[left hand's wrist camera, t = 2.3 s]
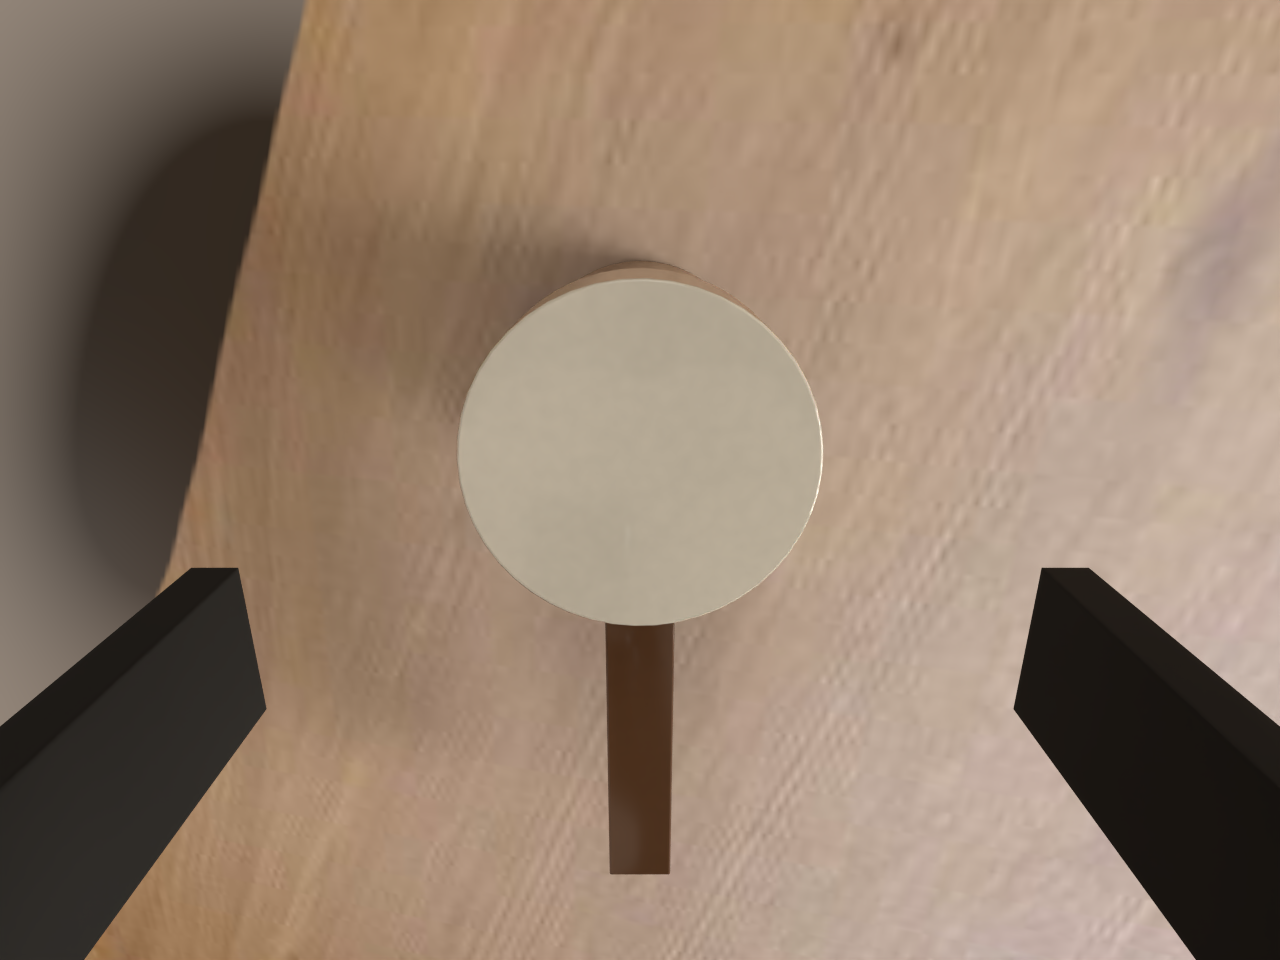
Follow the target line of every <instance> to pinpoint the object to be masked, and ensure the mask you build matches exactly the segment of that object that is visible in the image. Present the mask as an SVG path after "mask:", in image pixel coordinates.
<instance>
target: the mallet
mask: <svg viewBox="0 0 1280 960" xmlns="http://www.w3.org/2000/svg"><path fill="white" fill-rule="evenodd" d="M631 268H651V269H660V270H669V271H673V272H677V273H682V274H686V275H690V276H693V277H695V278H698V277H696V276H694V275H693V274H691V273H689V272H687V271H685V270H683V269H680V268H677V267H674V266H671V265H668V264H663V263H658V262H651V261H629V262H622V263H617V264H612V265H609V266H606V267H603V268H600V269H597V270H595V271H593V272H591V273H589V274H587V275H585V276H584V277H582V278H585V277H588V276H591V275H594V274H598V273H601V272H607V271H613V270H619V269H631ZM582 278H581V279H582ZM698 279H699V278H698ZM700 280H701V279H700ZM605 628H606V685H607V741H608V797H609V854H610V874H670V847H671V790H672V734H673V678H674V623H668V624H661V625H646V626H630V625H619V624H610V623H605Z"/></svg>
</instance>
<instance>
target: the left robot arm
mask: <svg viewBox="0 0 1280 960" xmlns="http://www.w3.org/2000/svg"><path fill="white" fill-rule="evenodd" d="M265 710H266V704H265V699H264V694H263V689H262V684H261V679H260V674H259V669H258V664H257V659H256V654H255V649H254V644H253V639H252V634H251V629H250V624H249V619H248V614H247V609H246V604H245V599H244V594H243V589H242V584H241V579H240V574H239V569H238V568H191V569H189V570H188V571H187V572H186V573H185V574H183V575H182V576H181V577H180V578H179V579H177V580H176V581H175V582H174V583H172V584H171V585H170V586H169V587H168V588H166V589H165V590H164V591H163V592H162V593H160V594H159V595H158V596H157V597H156V598H154V599H153V600H152V601H151V602H150V603H148V604H147V605H146V606H145V607H144V608H142V609H141V610H140V611H139V612H138V613H136V614H135V615H134V616H133V617H132V618H130V619H129V620H128V621H127V622H126V623H124V624H123V625H122V626H121V627H119V628H118V629H117V630H116V631H115V632H113V633H112V634H111V635H110V636H109V637H107V638H106V639H105V640H104V641H103V642H101V643H100V644H99V645H98V646H97V647H95V648H94V649H93V650H92V651H91V652H89V653H88V654H87V655H86V656H85V657H83V658H82V659H81V660H80V661H79V662H77V663H76V664H75V665H74V666H73V667H71V668H70V669H69V670H68V671H67V672H65V673H64V674H63V675H62V676H60V677H59V678H58V679H57V680H56V681H54V682H53V683H52V684H51V685H50V686H48V687H47V688H46V689H45V690H44V691H42V692H41V693H40V694H39V695H38V696H36V697H35V698H34V699H33V700H32V701H30V702H29V703H28V704H27V705H26V706H24V707H23V708H22V709H21V710H20V711H18V712H17V713H16V714H15V715H14V716H12V717H11V718H10V719H9V720H8V721H6V722H5V723H4V724H3V725H1V726H0V960H84V959H85V958H86V956H87V955H88V954H89V952H90V951H91V949H92V948H93V947H94V945H95V944H96V943H97V941H98V940H99V938H100V937H101V936H102V934H103V933H104V932H105V930H106V929H107V927H108V926H109V925H110V923H111V922H112V921H113V919H114V918H115V916H116V915H117V914H118V912H119V911H120V910H121V908H122V907H123V905H124V904H125V903H126V901H127V900H128V899H129V897H130V896H131V894H132V893H133V892H134V890H135V889H136V888H137V886H138V885H139V883H140V882H141V881H142V879H143V878H144V877H145V875H146V874H147V872H148V871H149V870H150V868H151V867H152V866H153V864H154V863H155V861H156V860H157V859H158V857H159V856H160V855H161V853H162V852H163V850H164V849H165V848H166V846H167V845H168V844H169V842H170V841H171V839H172V838H173V837H174V835H175V834H176V833H177V831H178V830H179V828H180V827H181V826H182V824H183V823H184V822H185V820H186V819H187V817H188V816H189V815H190V813H191V812H192V811H193V809H194V808H195V806H196V805H197V804H198V802H199V801H200V800H201V798H202V797H203V795H204V794H205V793H206V791H207V790H208V789H209V787H210V786H211V784H212V783H213V782H214V780H215V779H216V778H217V776H218V775H219V773H220V772H221V771H222V769H223V768H224V767H225V765H226V764H227V762H228V761H229V760H230V758H231V757H232V756H233V754H234V753H235V751H236V750H237V749H238V747H239V746H240V745H241V743H242V742H243V740H244V739H245V738H246V736H247V735H248V734H249V732H250V731H251V730H252V728H253V727H254V725H255V724H256V723H257V721H258V720H259V719H260V717H261V716H262V714H263V713H264V712H265ZM1014 710H1015V712H1016V713H1017V714H1018V716H1019V717H1020V719H1021V720H1022V721H1023V723H1024V724H1025V725H1026V727H1027V728H1028V730H1029V731H1030V732H1031V734H1032V735H1033V736H1034V738H1035V739H1036V741H1037V742H1038V743H1039V745H1040V746H1041V747H1042V749H1043V750H1044V751H1045V753H1046V754H1047V756H1048V757H1049V758H1050V760H1051V761H1052V762H1053V764H1054V765H1055V767H1056V768H1057V769H1058V771H1059V772H1060V773H1061V775H1062V776H1063V778H1064V779H1065V780H1066V782H1067V783H1068V784H1069V786H1070V787H1071V789H1072V790H1073V791H1074V793H1075V794H1076V795H1077V797H1078V798H1079V800H1080V801H1081V802H1082V804H1083V805H1084V806H1085V808H1086V809H1087V811H1088V812H1089V813H1090V815H1091V816H1092V817H1093V819H1094V820H1095V822H1096V823H1097V824H1098V826H1099V827H1100V828H1101V830H1102V831H1103V833H1104V834H1105V835H1106V837H1107V838H1108V839H1109V841H1110V842H1111V844H1112V845H1113V846H1114V848H1115V849H1116V850H1117V852H1118V853H1119V855H1120V856H1121V857H1122V859H1123V860H1124V861H1125V863H1126V864H1127V866H1128V867H1129V868H1130V870H1131V871H1132V872H1133V874H1134V875H1135V877H1136V878H1137V879H1138V881H1139V882H1140V883H1141V885H1142V886H1143V888H1144V889H1145V890H1146V892H1147V893H1148V894H1149V896H1150V897H1151V899H1152V900H1153V901H1154V903H1155V904H1156V905H1157V907H1158V908H1159V910H1160V911H1161V912H1162V914H1163V915H1164V916H1165V918H1166V919H1167V921H1168V922H1169V923H1170V925H1171V926H1172V927H1173V929H1174V930H1175V932H1176V933H1177V934H1178V936H1179V937H1180V938H1181V940H1182V941H1183V943H1184V944H1185V945H1186V947H1187V948H1188V949H1189V951H1190V952H1191V954H1192V955H1193V956H1194V958H1195V959H1196V960H1280V726H1279V725H1277V724H1276V723H1275V722H1274V721H1273V720H1271V719H1270V718H1269V717H1268V716H1267V715H1265V714H1264V713H1263V712H1262V711H1260V710H1259V709H1258V708H1257V707H1256V706H1254V705H1253V704H1252V703H1251V702H1250V701H1248V700H1247V699H1246V698H1245V697H1244V696H1242V695H1241V694H1240V693H1239V692H1238V691H1236V690H1235V689H1234V688H1233V687H1232V686H1230V685H1229V684H1228V683H1227V682H1226V681H1224V680H1223V679H1222V678H1221V677H1220V676H1218V675H1217V674H1216V673H1215V672H1214V671H1212V670H1211V669H1210V668H1209V667H1207V666H1206V665H1205V664H1204V663H1203V662H1201V661H1200V660H1199V659H1198V658H1197V657H1195V656H1194V655H1193V654H1192V653H1191V652H1189V651H1188V650H1187V649H1186V648H1185V647H1183V646H1182V645H1181V644H1180V643H1179V642H1177V641H1176V640H1175V639H1174V638H1173V637H1171V636H1170V635H1169V634H1168V633H1167V632H1165V631H1164V630H1163V629H1162V628H1161V627H1159V626H1158V625H1157V624H1156V623H1154V622H1153V621H1152V620H1151V619H1150V618H1148V617H1147V616H1146V615H1145V614H1144V613H1142V612H1141V611H1140V610H1139V609H1138V608H1136V607H1135V606H1134V605H1133V604H1132V603H1130V602H1129V601H1128V600H1127V599H1126V598H1124V597H1123V596H1122V595H1121V594H1120V593H1118V592H1117V591H1116V590H1115V589H1114V588H1112V587H1111V586H1110V585H1109V584H1108V583H1106V582H1105V581H1104V580H1103V579H1101V578H1100V577H1099V576H1098V575H1097V574H1095V573H1094V572H1093V571H1092V570H1091V569H1089V568H1042V569H1041V574H1040V579H1039V584H1038V589H1037V594H1036V599H1035V604H1034V609H1033V614H1032V619H1031V624H1030V629H1029V634H1028V639H1027V644H1026V649H1025V654H1024V659H1023V664H1022V669H1021V674H1020V679H1019V684H1018V689H1017V694H1016V699H1015V704H1014Z"/></svg>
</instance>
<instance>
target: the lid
mask: <svg viewBox="0 0 1280 960" xmlns="http://www.w3.org/2000/svg"><path fill="white" fill-rule="evenodd" d="M822 465H823V439H822V427H821V422H820V418H819V414H818V409H817V405H816V402H815V399H814V397H813V394H812V391H811V389H810V386H809V383H808V381H807V379H806V378H805V376H804V374H803V372H802V370H801V368H800V367H799V365H798V363H797V361H796V360H795V358H794V357H793V356H792V354H791V353H790V352H789V350H788V349H787V348H786V347H785V345H784V344H783V343H782V341H781V340H780V339H779V338H778V337H777V336H776V335H775V334H774V333H773V332H772V331H771V330H770V329H769V328H768V327H767V326H766V325H765V324H764V323H763V322H762V321H761V320H760V319H759V318H758V317H757V316H756V315H755V314H754V313H753V312H752V311H751V310H750V309H749V308H748V307H747V306H745V305H744V304H743V303H741V302H740V301H739V300H737V299H736V298H735V297H734V296H732V295H731V294H729V293H727V292H725V291H723V290H722V289H720V288H718V287H716V286H715V285H713V284H711V283H708V282H705V281H703V280H700V279H698V278H695V277H693V276H690V275H686V274H682V273H677V272H673V271H669V270H660V269H651V268H631V269H619V270H613V271H607V272H601V273H598V274H594V275H591V276H588V277H585V278H582V279H579V280H576V281H574V282H572V283H570V284H568V285H566V286H564V287H561V288H559V289H558V290H556V291H554V292H553V293H551V294H550V295H548V296H547V297H545V298H544V299H542V300H541V301H539V302H538V303H537V304H536V305H535V306H533V307H532V308H531V309H530V310H529V311H528V312H526V313H525V314H524V315H523V316H522V317H521V318H520V319H519V320H518V321H517V322H516V323H515V324H514V325H513V326H512V327H511V328H510V329H509V330H508V331H507V333H506V334H505V335H504V336H503V337H502V338H501V339H500V341H499V342H498V343H497V344H496V345H495V346H494V347H493V349H492V350H491V351H490V353H489V354H488V356H487V357H486V359H485V360H484V362H483V363H482V365H481V366H480V368H479V369H478V371H477V373H476V375H475V377H474V380H473V382H472V384H471V386H470V388H469V390H468V393H467V396H466V399H465V402H464V405H463V409H462V412H461V416H460V422H459V429H458V435H457V467H458V475H459V483H460V487H461V491H462V495H463V498H464V502H465V505H466V508H467V510H468V513H469V515H470V518H471V520H472V522H473V525H474V527H475V528H476V530H477V532H478V534H479V535H480V537H481V539H482V541H483V542H484V544H485V545H486V547H487V548H488V549H489V551H490V552H491V553H492V555H493V556H494V557H495V559H496V560H497V561H498V563H499V564H500V565H501V566H502V567H503V568H504V569H505V570H506V571H507V572H508V573H509V574H510V575H511V576H512V577H513V578H514V579H516V580H517V581H518V582H519V583H521V584H522V585H523V586H524V587H526V588H527V589H528V590H529V591H531V592H532V593H534V594H535V595H537V596H539V597H540V598H542V599H543V600H545V601H547V602H548V603H550V604H552V605H554V606H556V607H559V608H561V609H563V610H565V611H567V612H569V613H572V614H575V615H578V616H581V617H585V618H588V619H591V620H596V621H600V622H605V623H610V624H619V625H630V626H646V625H661V624H668V623H675V622H680V621H684V620H688V619H692V618H696V617H699V616H702V615H705V614H707V613H710V612H712V611H715V610H717V609H720V608H722V607H724V606H725V605H727V604H729V603H731V602H733V601H735V600H737V599H739V598H740V597H742V596H743V595H744V594H746V593H747V592H749V591H750V590H752V589H753V588H755V587H756V586H757V585H758V584H760V583H761V582H762V581H763V580H764V579H765V578H766V577H767V576H769V575H770V574H771V573H772V572H773V571H774V570H775V569H776V568H777V566H778V565H779V564H780V563H781V562H782V561H783V560H784V558H785V557H786V556H787V555H788V554H789V552H790V551H791V549H792V548H793V546H794V545H795V543H796V542H797V540H798V539H799V537H800V536H801V534H802V532H803V530H804V528H805V526H806V524H807V522H808V520H809V518H810V516H811V513H812V510H813V507H814V504H815V501H816V498H817V495H818V491H819V486H820V480H821V475H822Z"/></svg>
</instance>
